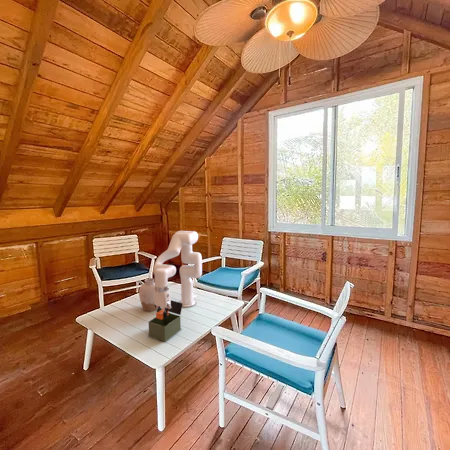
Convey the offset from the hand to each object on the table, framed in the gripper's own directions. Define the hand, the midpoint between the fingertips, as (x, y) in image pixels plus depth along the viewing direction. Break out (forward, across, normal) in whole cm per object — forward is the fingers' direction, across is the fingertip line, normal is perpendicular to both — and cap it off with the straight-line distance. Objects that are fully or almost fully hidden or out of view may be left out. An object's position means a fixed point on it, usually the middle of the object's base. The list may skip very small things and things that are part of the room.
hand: (162, 315), depth 156 cm
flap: (-1, 0, -11) cm, 11 cm away
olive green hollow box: (+12, 0, -2) cm, 13 cm away
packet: (0, 0, 0) cm, 0 cm away
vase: (+12, +32, -22) cm, 41 cm away
